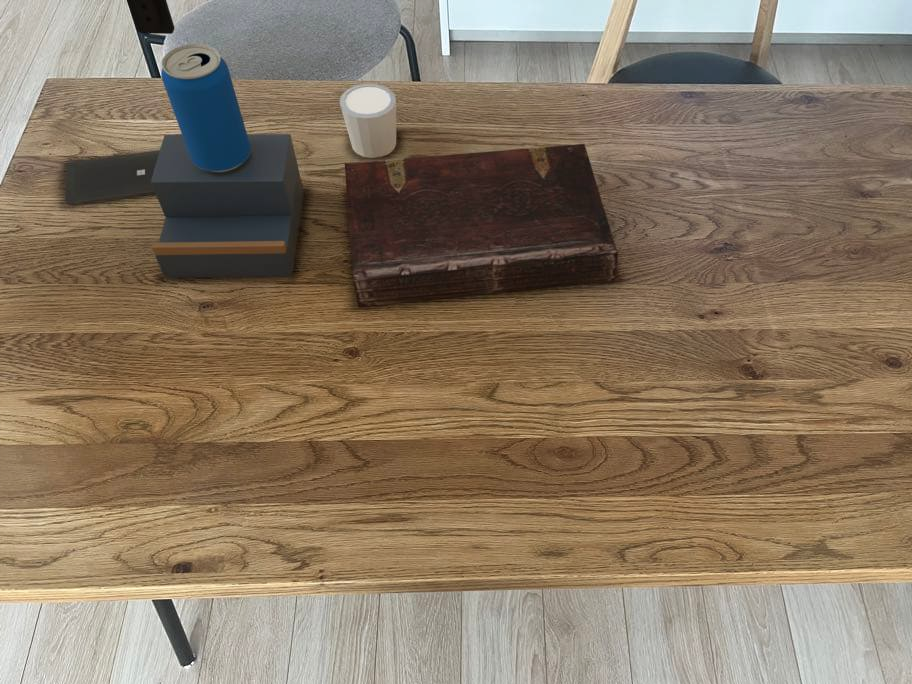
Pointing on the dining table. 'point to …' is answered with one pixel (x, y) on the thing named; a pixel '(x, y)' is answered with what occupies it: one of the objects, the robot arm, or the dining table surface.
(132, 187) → the smartphone
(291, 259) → the step shelf
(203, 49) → the beverage can
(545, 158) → the hardback book
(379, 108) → the white cylinder
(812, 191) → the dining table surface
